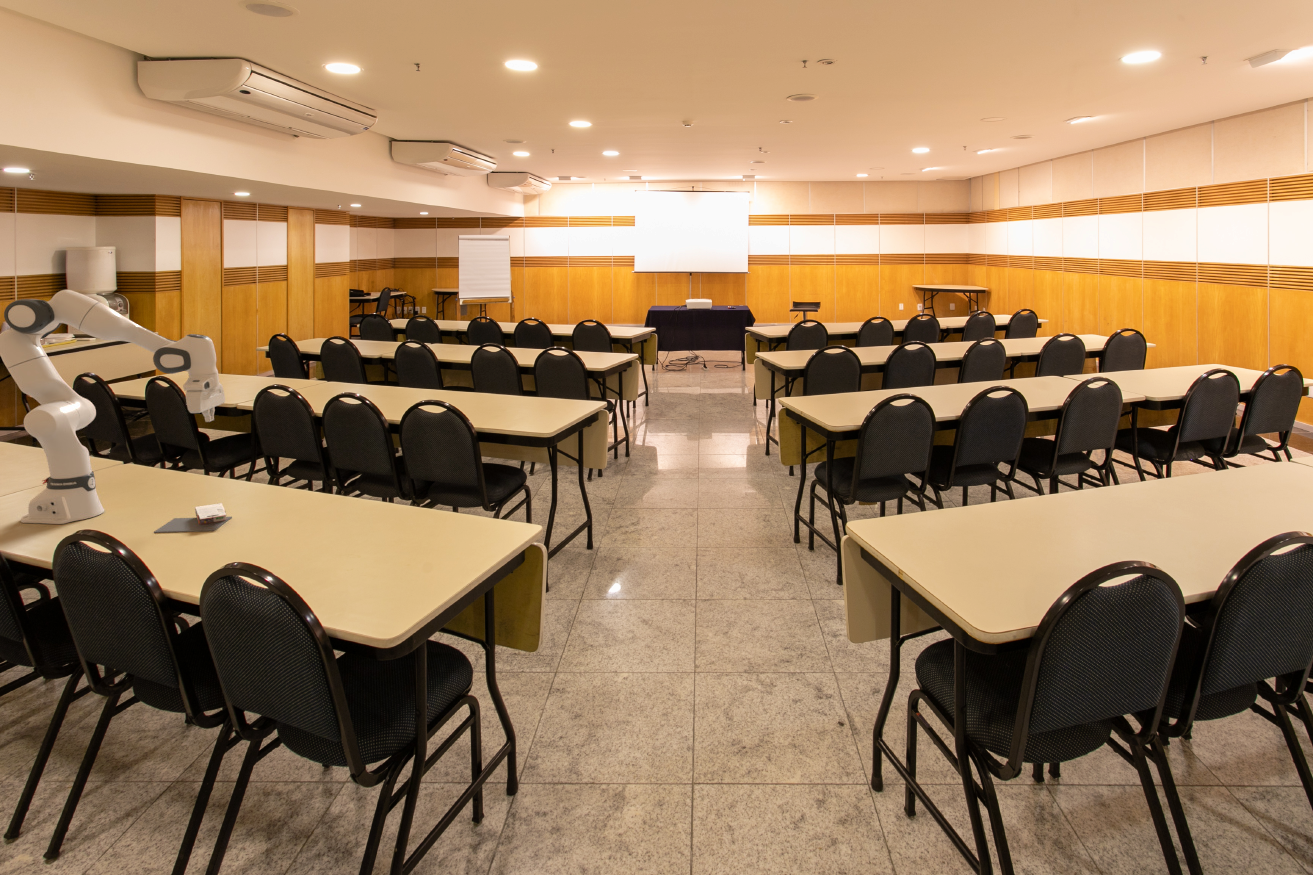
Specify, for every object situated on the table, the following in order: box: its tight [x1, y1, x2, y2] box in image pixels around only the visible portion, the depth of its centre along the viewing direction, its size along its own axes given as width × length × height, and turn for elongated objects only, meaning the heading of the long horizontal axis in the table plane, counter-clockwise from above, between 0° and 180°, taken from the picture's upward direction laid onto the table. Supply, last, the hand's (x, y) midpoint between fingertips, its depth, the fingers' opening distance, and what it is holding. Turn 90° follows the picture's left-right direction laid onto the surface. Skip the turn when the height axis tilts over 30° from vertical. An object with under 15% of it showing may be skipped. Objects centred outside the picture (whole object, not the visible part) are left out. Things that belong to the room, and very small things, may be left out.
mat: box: [153, 516, 233, 534], centre depth 247 cm, size 18×13×1 cm
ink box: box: [194, 502, 227, 524], centre depth 250 cm, size 4×8×15 cm
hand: (209, 421), depth 266 cm, fingers closed
